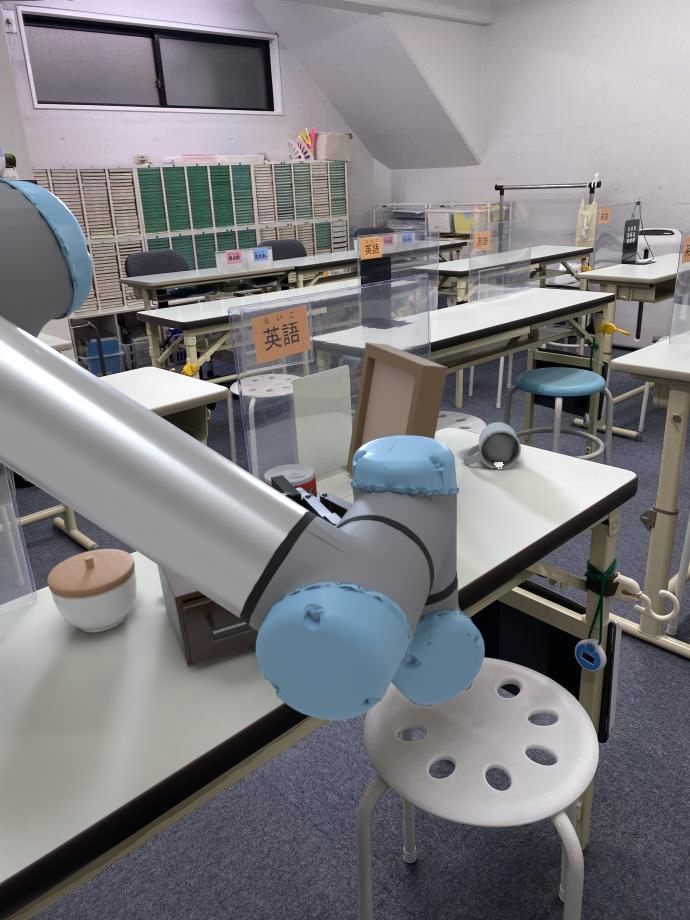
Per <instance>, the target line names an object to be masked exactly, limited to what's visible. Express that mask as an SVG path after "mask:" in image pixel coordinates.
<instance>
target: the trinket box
mask: <svg viewBox="0 0 690 920" xmlns="http://www.w3.org/2000/svg"><path fill="white" fill-rule="evenodd" d="M135 566H136V565H135V560H134V557H133V556H132V555H131V554H130V553H129V552H128V551H125V550H121V549H118V548H100V549H93V550H88V551H84V552H82V553H77V554H75V555H73V556H70V557H68V558H66V559H64V560H63V561H61V562H59V563H58V564H57V565H56V566H54V567H53V568H52V569H51V570H50V572H49V573H48V575H47V578H46V582H47V583H46V584H47V586H48V589H49V591H50V593H51V596H52V600H53V603H54V604H55V607H56V609H57V611H58V613H59V614H60V616H61V617H62V618H63V619H64V620H65V621H66V622H67V623H69V624H70V625H72V626H73V627H76V628H79V629H80V630H82V631H83V632H86V633H101V632H105V631H109V630H111V629H113V628H115V627H117V626H118V625H120V624H121V623H122V622H124V620H125V619H126V617H127V615H128V614H129V612H130V610H131V609H132V608H133V605H134V603H135V601H136V597H137V590H138V589H137V588H138V587H137V584H138V583H137V574H136V570H135V568H136V567H135Z"/></svg>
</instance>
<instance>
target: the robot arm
mask: <svg viewBox="0 0 690 920" xmlns="http://www.w3.org/2000/svg"><path fill="white" fill-rule="evenodd" d="M87 242H88V241H87V238H86V235H85V234H84V231H83V228H82V227H81V225H80V222H78V220H77V218H76V217H75V215H74V214H73V213H72V211H71V210H70V208H68V206H67V205H66V204H65V203H64V202H63V201H61V200H60V198H59V197H57V196H56V195H55V194H54V193H52V192H50V191H49V190H47V189H46V188H44V187H42V186H40V185H38V184H35V183H33V182H29V181H26V180H25V181H23V180H11V179H6V178H2V177H0V464H2V465H4V466H5V467H7V468H8V469H10V470H11V471H13V472H14V473H16V474H18V475H19V476H21V478H23V479H25V480H27V481H28V482H29V483H31V484H33V485H34V486H36V487H37V488H39V489H41V490H42V491H44V492H45V493H47V494H48V495H50V496H51V497H53V498H54V499H56V500H57V501H59V502H61V503H62V504H63V505H65V506H67V507H68V508H70V509H71V510H73V511H74V512H76V513H78V514H79V515H81V516H82V517H84V518H85V519H86V520H88V521H90V522H91V523H93V524H94V525H96V526H98V527H99V528H100V529H102V530H103V531H105V532H107V533H109V534H110V535H111V536H113V537H114V538H116V539H117V540H119V541H121V542H122V543H123V544H125V545H126V546H128V547H130V548H131V549H133V550H134V551H136V552H137V553H139V554H140V555H142V556H143V557H145V558H147V559H148V560H150V561H151V562H153V563H155V564H156V565H157V564H158V565H159V566H161V567H162V568H164V569H165V570H167V571H168V572H170V573H171V574H173V575H174V576H176V577H178V578H179V579H181V580H182V581H184V582H185V583H187V584H188V585H190V586H191V587H193V588H194V589H196V590H198V591H199V592H201V593H202V594H204V595H205V596H207V597H208V598H210V599H211V600H213V601H214V602H216V603H218V604H219V605H221V606H222V607H224V608H225V609H227V610H228V611H230V612H231V613H233V614H234V615H236V616H238V617H239V618H240V619H241V620H242V621H244V622H245V623H247V624H249V626H251V627H252V628H254V629H255V630H257V631H258V632H259V633H258V636H257V640H256V646H255V656H256V661H257V665H258V669H259V672H260V674H261V676H262V677H263V679H264V680H266V681H268V682H269V683H270V685H271V686H272V687H273V688H274V690H275V695H276V696H277V698H279V699H280V701H282V702H283V703H285V704H286V705H287V706H288V707H290V708H292V709H293V710H295V711H296V712H299V713H300V714H302V715H306V716H309V717H311V718H315V719H319V720H323V721H345V720H351V719H353V718H356V717H359V716H362V715H363V714H365V713H368V712H369V711H370V710H371V709H373V708H374V707H375V706H377V704H379V703H380V702H381V701H382V700H383V698H384V696H385V695H386V693H387V691H388V690H389V687H390V686H391V684H392V685H393V686H394V687H395V688H396V689H397V690H398V691H399V692H400V693H401V694H402V695H403V696H404V697H405V698H406V699H408V700H409V701H411V702H412V703H415V704H418V705H422V706H435V705H440V704H442V703H444V702H446V701H449V700H453V699H455V698H456V697H458V696H460V695H461V694H462V693H464V692H465V691H466V690H467V689H468V688H470V686H471V684H473V682H474V681H475V680H476V678H477V676H478V674H479V673H480V671H481V669H482V666H483V663H484V659H485V652H486V648H485V640H484V639H483V636H482V634H481V631H480V630H479V628H478V627H477V626H476V625H475V624H474V623H473V621H472V619H471V617H469V616H468V614H467V613H466V612H465V611H463V610H461V608H460V605H459V577H458V570H457V569H458V567H457V566H458V563H457V562H458V560H457V559H458V558H457V557H458V556H457V555H458V494H460V488H459V487H458V483H457V473H456V472H457V470H456V459H455V455H454V453H453V451H452V449H451V448H450V447H449V446H448V445H446V444H445V443H443V442H441V441H439V440H437V439H435V438H434V439H432V438H428V437H422V436H410V435H402V436H391V437H384V438H380V439H376V440H373V441H371V442H368V443H366V444H365V445H363V446H362V447H360V448H359V449H358V450H357V451H356V453H355V455H354V457H353V462H352V464H353V476H352V479H351V481H350V488H352V493H353V501H352V503H351V502H350V501H347V500H345V499H343V498H340V497H339V496H337V495H335V494H333V493H331V492H328V491H323V492H320V493H318V494H319V496H317V497H315V496H314V495H312V494H308V493H307V492H306V491H305V490H304V489H303V488H295V487H294V486H293V485H292V484H291V483H290V482H289V481H288V480H287V479H286V478H285V477H284V476H283V475H279V476H275V477H271V484H272V487H271V486H269V485H267V484H266V483H264V480H261V479H259V477H256V476H255V475H253V474H252V473H250V472H248V471H247V470H245V469H243V468H242V467H241V466H239V465H237V464H236V463H234V462H233V461H231V460H230V459H228V458H226V457H225V456H223V454H220V453H218V452H217V451H215V450H214V449H212V448H210V447H209V446H207V445H206V444H204V443H202V442H201V441H199V440H198V439H196V438H195V437H193V436H191V435H190V434H189V433H187V432H186V431H184V430H182V429H180V428H179V427H177V426H176V425H174V424H172V423H171V422H169V421H168V420H166V419H164V418H163V417H162V416H161V415H158V414H156V413H155V412H154V411H153V410H151V409H149V408H147V407H146V406H144V405H142V404H141V403H140V402H139V401H138V402H137V400H135V399H133V398H132V397H130V396H128V395H127V394H125V393H124V392H122V391H120V390H119V389H117V388H115V387H114V386H113V385H111V384H109V383H107V382H106V381H105V380H103V379H101V378H100V377H98V376H97V375H95V374H94V373H92V372H91V371H88V369H86V368H84V367H82V366H81V365H79V364H78V363H76V362H75V361H74V360H71V359H70V358H68V357H66V356H65V355H63V354H62V353H60V352H59V351H57V350H55V349H54V348H52V347H51V346H50V345H48V344H47V343H44V342H43V341H41V340H40V339H38V336H39V335H40V333H41V332H42V330H43V329H44V327H45V326H46V325H47V324H48V323H49V322H50V321H52V320H55V321H57V320H63V319H66V318H68V317H69V316H71V314H73V313H74V312H77V311H78V310H79V309H80V308H81V307H82V306H83V305H84V304H85V302H86V301H87V299H88V297H89V294H90V292H91V289H92V284H93V277H94V272H93V271H94V269H93V259H92V256H91V254H90V253H89V251H88V247H87ZM158 565H157V566H158Z"/></svg>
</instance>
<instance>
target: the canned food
mask: <svg viewBox="0 0 690 920" xmlns="http://www.w3.org/2000/svg"><path fill="white" fill-rule="evenodd" d="M315 472H316V471H315V469H314V468H313V467H311V466H309V465H306V464H299V463H289V464H282V465H278V466H274V467H272V468H270V469H268V470H267V471H265V472H264V474H263V482H264V483H266V484H267V485H269V486H271V487H272V484H271V477H275V476H279V475H283V476H284V477H285V478H286V479H287V480H288V481H289V482H290V483H291V484H292V485H293V486H294V487H295V488H303V489H304V490H305V491H306V492H307V493H308V494H312V495H314V496H315V497H318V489H317V479H316V473H315Z"/></svg>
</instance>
